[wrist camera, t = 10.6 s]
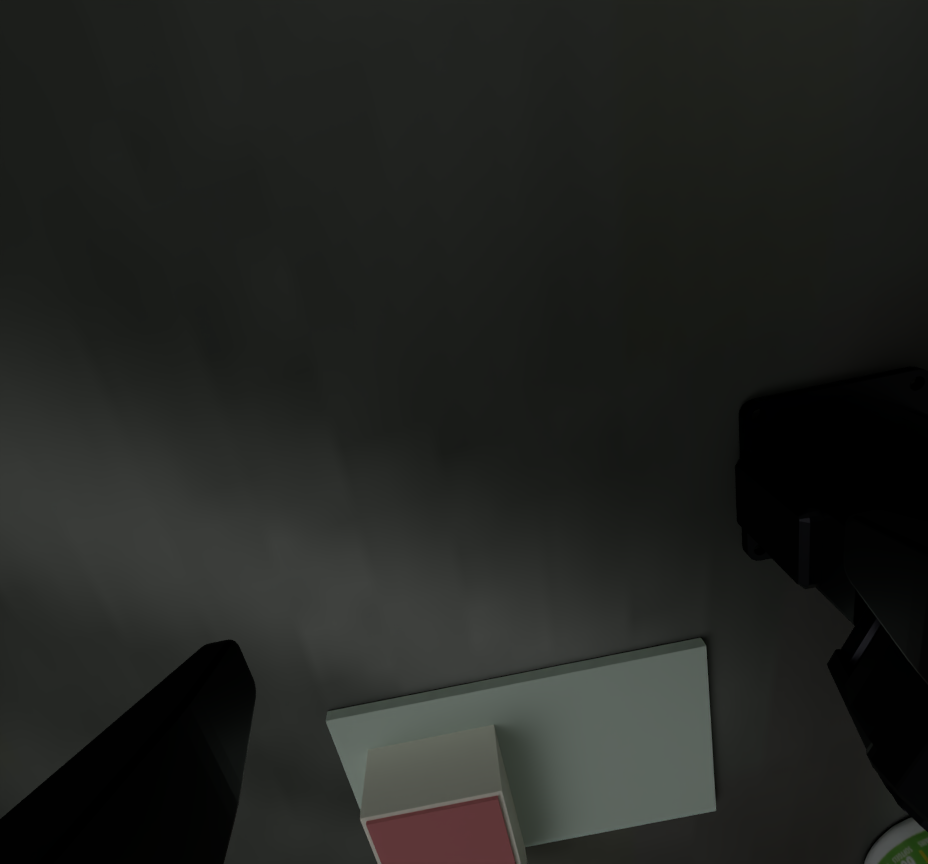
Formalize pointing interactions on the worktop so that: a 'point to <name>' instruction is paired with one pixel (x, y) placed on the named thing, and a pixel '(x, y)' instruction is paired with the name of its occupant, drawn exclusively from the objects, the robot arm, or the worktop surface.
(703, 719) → the mat
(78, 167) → the worktop surface
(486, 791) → the card deck
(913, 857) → the supplement bottle
